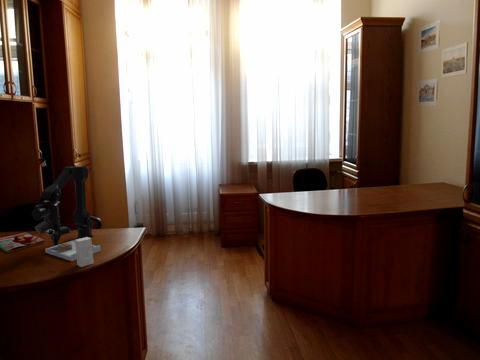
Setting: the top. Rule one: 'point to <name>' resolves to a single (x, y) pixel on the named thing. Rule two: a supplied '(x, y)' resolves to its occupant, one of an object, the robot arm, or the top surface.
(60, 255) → the board
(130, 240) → the top surface
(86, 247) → the skincare box
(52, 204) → the robot arm
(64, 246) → the brown flat block
